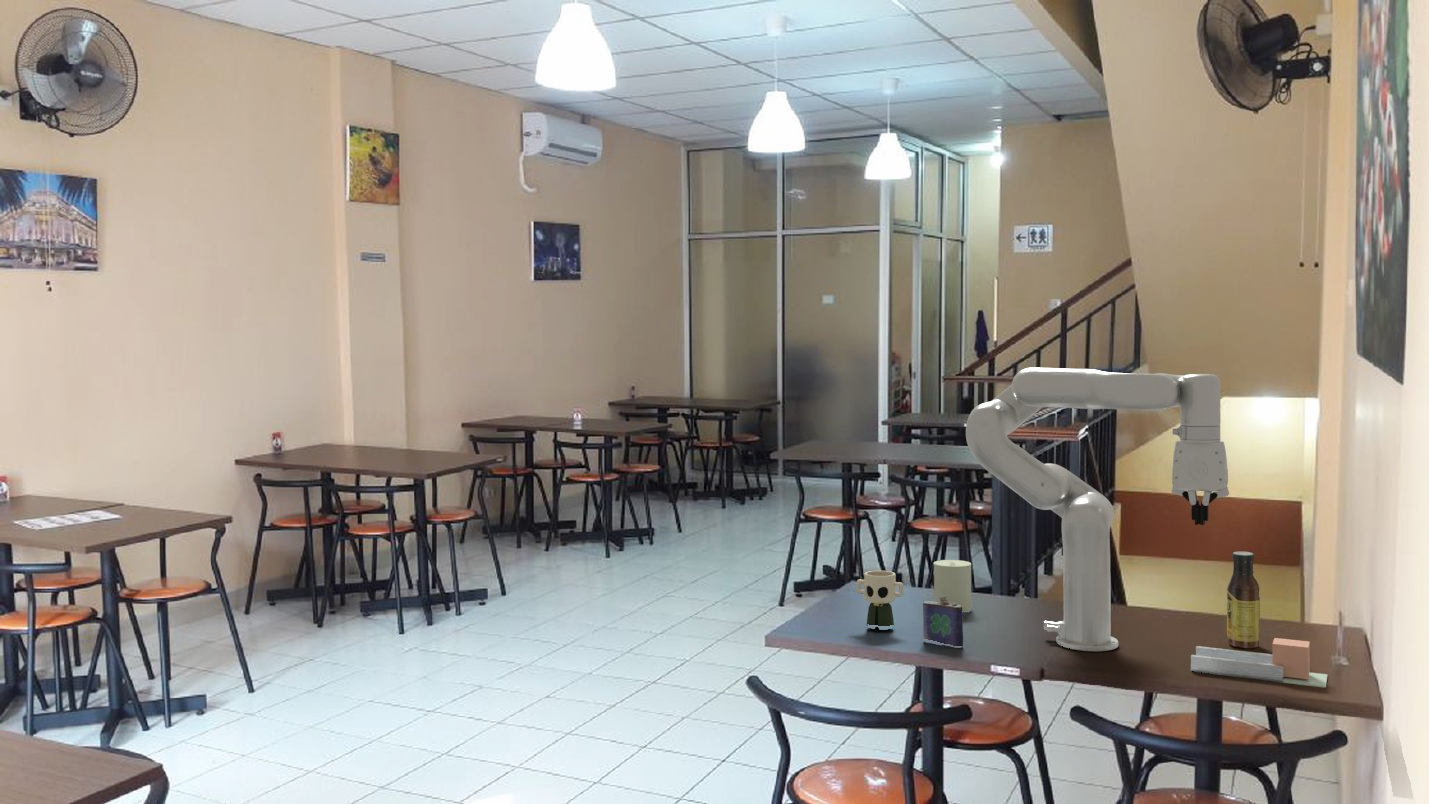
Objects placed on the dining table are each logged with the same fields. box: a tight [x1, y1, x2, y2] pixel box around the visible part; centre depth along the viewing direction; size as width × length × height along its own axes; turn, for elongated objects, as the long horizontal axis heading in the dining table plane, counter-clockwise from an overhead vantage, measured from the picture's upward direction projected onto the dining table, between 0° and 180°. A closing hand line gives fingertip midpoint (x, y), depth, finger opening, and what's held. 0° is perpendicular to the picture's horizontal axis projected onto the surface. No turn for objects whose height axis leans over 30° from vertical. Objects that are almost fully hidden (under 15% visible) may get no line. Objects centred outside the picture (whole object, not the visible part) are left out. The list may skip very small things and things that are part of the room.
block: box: [1271, 637, 1311, 679], centre depth 208 cm, size 6×5×6 cm
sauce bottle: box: [1226, 550, 1261, 650], centre depth 231 cm, size 6×6×20 cm
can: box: [933, 559, 973, 611], centre depth 269 cm, size 9×9×12 cm
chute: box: [1190, 645, 1284, 684], centre depth 213 cm, size 16×9×3 cm, turn 59°
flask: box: [922, 595, 964, 647], centre depth 236 cm, size 9×3×11 cm, turn 50°
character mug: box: [856, 570, 904, 626], centre depth 250 cm, size 11×7×13 cm, turn 65°
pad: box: [1283, 672, 1328, 689], centre depth 207 cm, size 7×9×1 cm
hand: (1200, 523), depth 224 cm, fingers closed
